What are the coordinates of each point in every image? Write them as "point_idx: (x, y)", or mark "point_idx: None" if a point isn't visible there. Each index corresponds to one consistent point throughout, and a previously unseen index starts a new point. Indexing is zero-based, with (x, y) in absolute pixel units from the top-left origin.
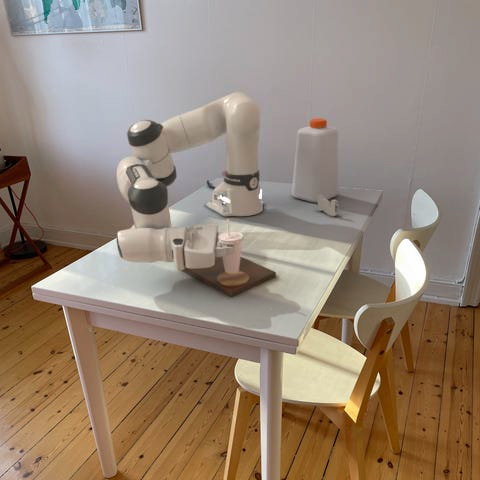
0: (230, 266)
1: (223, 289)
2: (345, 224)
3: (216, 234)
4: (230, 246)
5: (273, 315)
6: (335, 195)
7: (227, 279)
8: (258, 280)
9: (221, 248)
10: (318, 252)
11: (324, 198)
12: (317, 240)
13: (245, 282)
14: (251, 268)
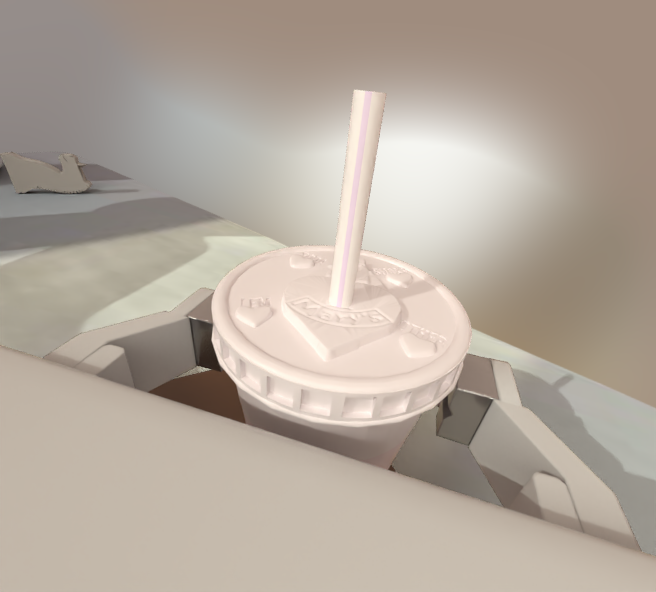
0: None
1: None
2: (135, 197)
3: (144, 391)
4: (482, 370)
5: (605, 457)
6: (2, 163)
7: None
8: None
9: (582, 463)
10: (221, 253)
11: (24, 158)
12: (160, 236)
13: None
14: (239, 400)
